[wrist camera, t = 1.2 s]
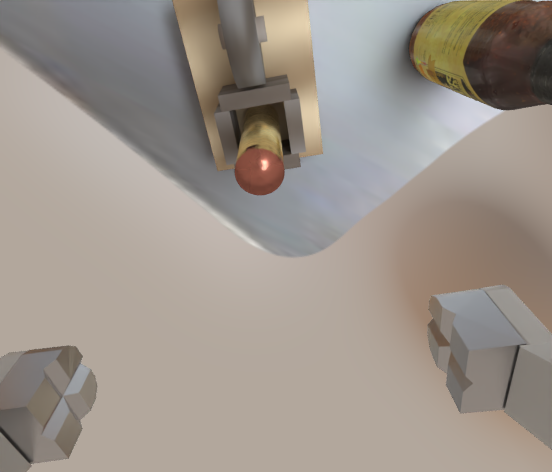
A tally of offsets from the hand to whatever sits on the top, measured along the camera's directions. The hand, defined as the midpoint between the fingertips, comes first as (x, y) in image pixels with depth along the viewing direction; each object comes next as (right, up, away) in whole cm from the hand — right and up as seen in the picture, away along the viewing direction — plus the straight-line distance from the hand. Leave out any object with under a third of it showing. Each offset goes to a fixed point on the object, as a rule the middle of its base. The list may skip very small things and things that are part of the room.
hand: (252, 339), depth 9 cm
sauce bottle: (+16, +20, +25) cm, 35 cm away
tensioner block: (-1, +17, +26) cm, 31 cm away
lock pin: (-1, +13, +24) cm, 27 cm away
